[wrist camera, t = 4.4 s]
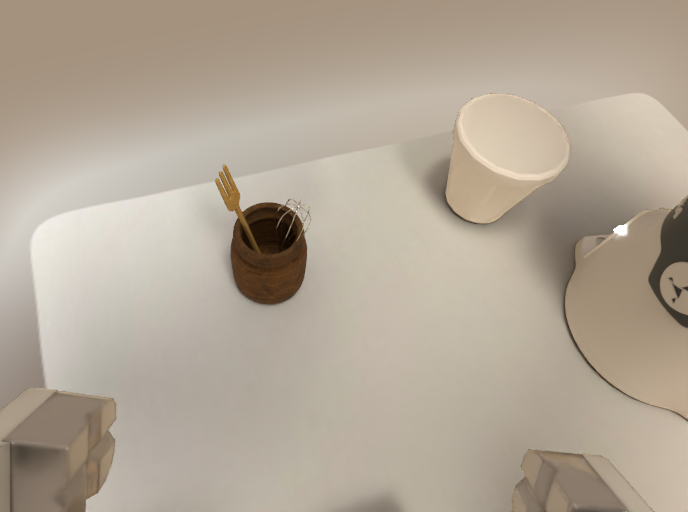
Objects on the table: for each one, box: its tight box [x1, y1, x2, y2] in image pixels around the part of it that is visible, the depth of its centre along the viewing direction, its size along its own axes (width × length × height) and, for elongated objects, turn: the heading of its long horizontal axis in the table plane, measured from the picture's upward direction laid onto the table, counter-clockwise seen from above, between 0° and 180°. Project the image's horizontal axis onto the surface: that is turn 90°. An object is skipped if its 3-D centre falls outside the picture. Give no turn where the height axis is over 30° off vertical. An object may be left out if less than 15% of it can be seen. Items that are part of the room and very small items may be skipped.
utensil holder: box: [215, 165, 311, 304], centre depth 35 cm, size 6×6×12 cm
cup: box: [445, 93, 571, 224], centre depth 44 cm, size 10×10×9 cm
